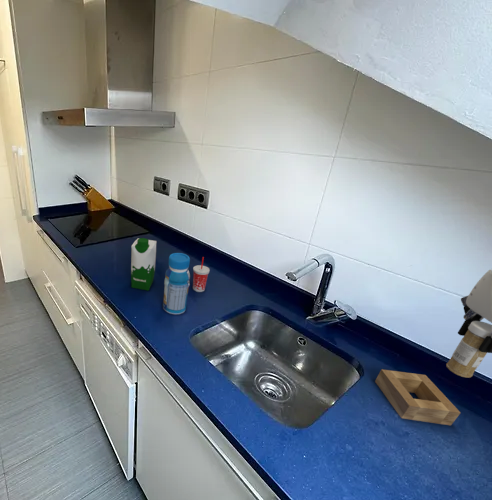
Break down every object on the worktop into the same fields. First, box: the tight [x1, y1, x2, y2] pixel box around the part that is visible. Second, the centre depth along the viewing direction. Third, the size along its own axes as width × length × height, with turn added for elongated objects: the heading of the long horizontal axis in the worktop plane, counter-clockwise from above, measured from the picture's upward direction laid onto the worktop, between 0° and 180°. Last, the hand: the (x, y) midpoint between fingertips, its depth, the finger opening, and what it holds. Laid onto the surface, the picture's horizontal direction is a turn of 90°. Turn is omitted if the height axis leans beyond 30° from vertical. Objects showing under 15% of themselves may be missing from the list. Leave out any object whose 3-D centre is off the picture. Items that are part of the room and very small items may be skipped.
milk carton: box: [130, 237, 157, 292], centre depth 109 cm, size 9×9×20 cm
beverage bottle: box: [162, 252, 191, 315], centre depth 95 cm, size 8×8×20 cm
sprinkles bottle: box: [445, 320, 492, 379], centre depth 66 cm, size 5×5×13 cm
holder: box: [374, 368, 461, 426], centre depth 68 cm, size 10×10×4 cm
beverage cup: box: [192, 256, 211, 293], centre depth 108 cm, size 6×6×14 cm
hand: (476, 342), depth 65 cm, fingers closed on sprinkles bottle, 4 cm apart
